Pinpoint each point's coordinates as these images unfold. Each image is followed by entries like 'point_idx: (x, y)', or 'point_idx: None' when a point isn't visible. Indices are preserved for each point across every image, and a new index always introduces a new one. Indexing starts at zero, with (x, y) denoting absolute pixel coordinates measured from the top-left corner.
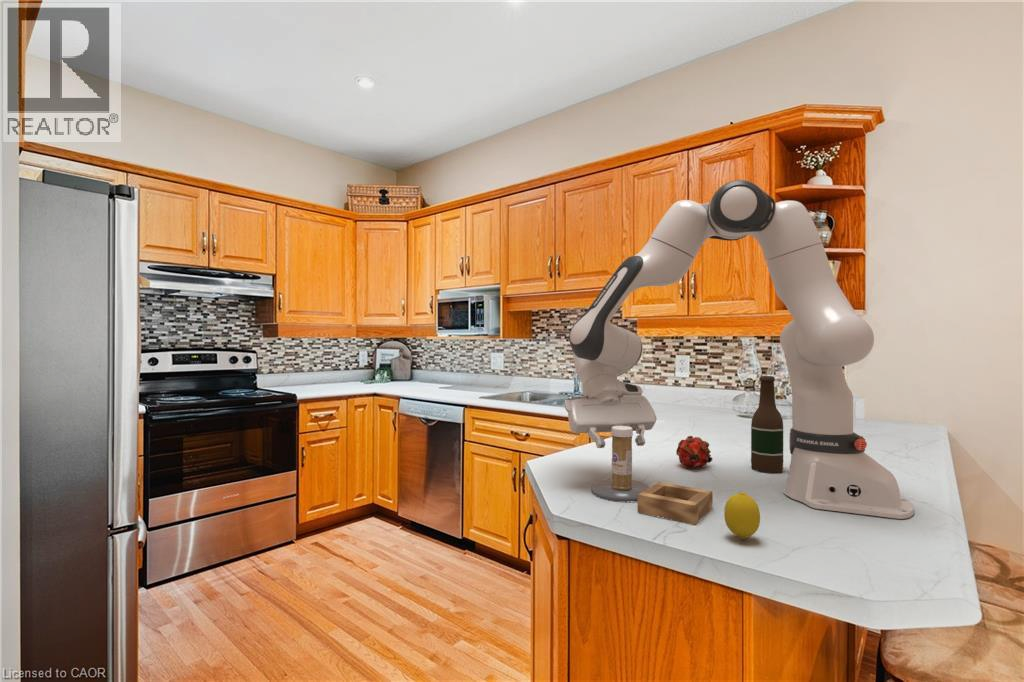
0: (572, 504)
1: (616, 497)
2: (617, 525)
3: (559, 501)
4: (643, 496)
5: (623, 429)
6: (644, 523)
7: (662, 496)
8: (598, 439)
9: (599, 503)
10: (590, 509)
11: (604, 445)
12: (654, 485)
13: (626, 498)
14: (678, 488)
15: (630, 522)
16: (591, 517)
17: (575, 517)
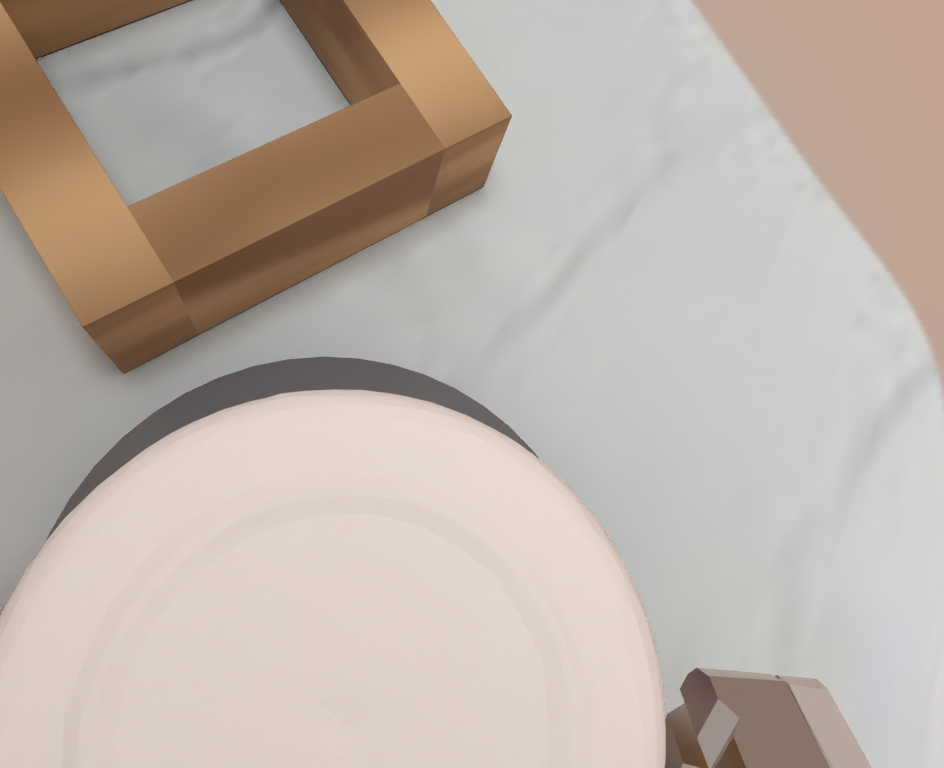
0: (820, 495)
1: (505, 427)
2: (699, 80)
3: (887, 592)
4: (483, 82)
5: (471, 423)
6: (545, 39)
7: (359, 6)
8: (859, 756)
9: (635, 444)
10: (742, 358)
11: (695, 682)
12: (216, 247)
13: (438, 385)
14: (61, 106)
15: (611, 83)
16: (787, 235)
17: (872, 272)
